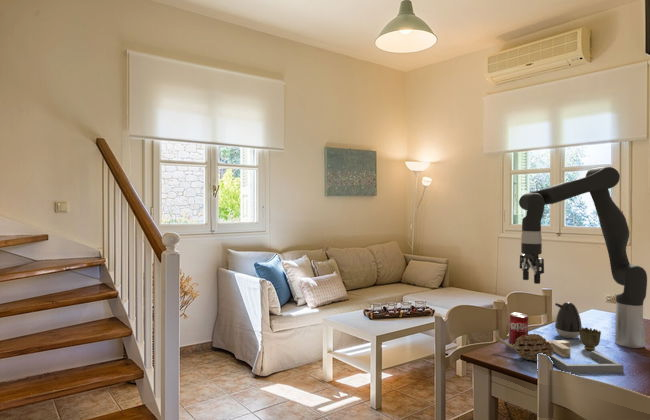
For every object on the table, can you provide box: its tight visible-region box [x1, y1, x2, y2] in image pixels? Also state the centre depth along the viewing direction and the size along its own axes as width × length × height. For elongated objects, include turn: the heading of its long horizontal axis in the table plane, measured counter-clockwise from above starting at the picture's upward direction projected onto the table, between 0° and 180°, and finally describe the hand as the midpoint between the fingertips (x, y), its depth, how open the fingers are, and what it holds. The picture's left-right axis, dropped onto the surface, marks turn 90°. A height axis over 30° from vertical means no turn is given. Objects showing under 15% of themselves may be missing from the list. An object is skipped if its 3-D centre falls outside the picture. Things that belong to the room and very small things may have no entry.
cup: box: [579, 326, 602, 352], centre depth 170 cm, size 8×7×8 cm
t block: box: [546, 339, 571, 358], centre depth 168 cm, size 12×10×3 cm
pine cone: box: [495, 333, 555, 362], centre depth 160 cm, size 22×10×10 cm, turn 45°
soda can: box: [508, 312, 529, 345], centre depth 177 cm, size 7×7×12 cm
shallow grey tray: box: [550, 350, 625, 374], centre depth 154 cm, size 20×14×2 cm
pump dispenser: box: [554, 301, 583, 340], centre depth 187 cm, size 10×10×15 cm
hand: (531, 281), depth 175 cm, fingers open, 8 cm apart
